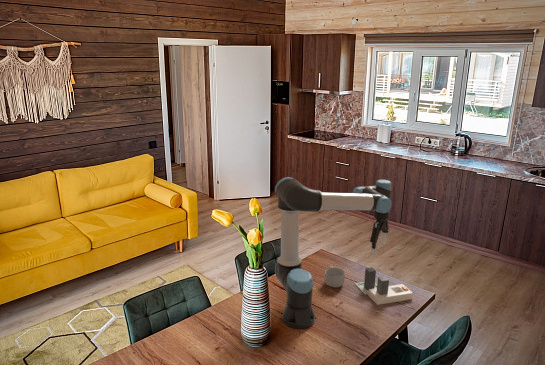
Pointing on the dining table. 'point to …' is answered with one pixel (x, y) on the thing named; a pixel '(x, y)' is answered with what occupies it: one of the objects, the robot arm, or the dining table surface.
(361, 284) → the tray
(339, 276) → the teacup
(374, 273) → the plug
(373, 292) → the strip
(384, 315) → the dining table surface
